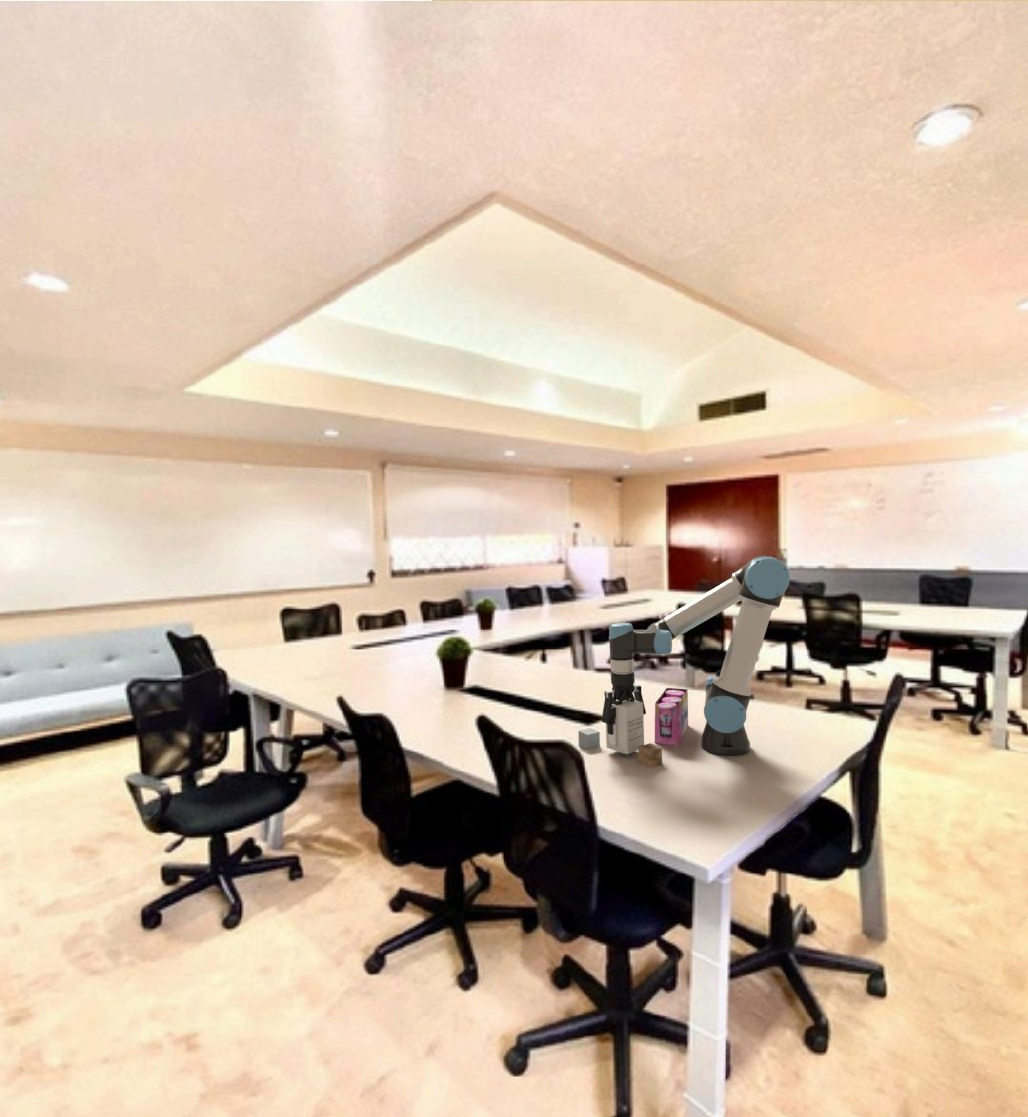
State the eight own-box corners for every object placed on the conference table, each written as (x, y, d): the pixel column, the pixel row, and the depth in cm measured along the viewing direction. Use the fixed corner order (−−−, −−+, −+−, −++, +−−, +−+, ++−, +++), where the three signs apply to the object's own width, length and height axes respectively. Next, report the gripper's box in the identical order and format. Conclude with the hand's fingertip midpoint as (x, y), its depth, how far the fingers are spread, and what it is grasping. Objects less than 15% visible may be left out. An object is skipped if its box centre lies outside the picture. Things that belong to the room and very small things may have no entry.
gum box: (677, 747, 197) (676, 706, 197) (653, 744, 201) (652, 704, 200) (688, 725, 219) (688, 689, 218) (666, 723, 222) (666, 687, 222)
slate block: (590, 742, 204) (590, 728, 204) (599, 746, 200) (599, 732, 200) (578, 745, 202) (578, 730, 201) (588, 749, 197) (587, 734, 197)
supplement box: (605, 748, 194) (603, 702, 193) (623, 741, 200) (621, 696, 199) (627, 755, 187) (625, 707, 186) (645, 747, 193) (643, 701, 192)
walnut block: (650, 759, 188) (650, 743, 188) (662, 763, 184) (661, 747, 184) (638, 762, 186) (638, 746, 185) (650, 767, 181) (649, 751, 181)
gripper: (639, 664, 201) (642, 730, 202) (587, 675, 190) (590, 744, 191) (655, 668, 195) (658, 736, 196) (603, 679, 184) (606, 751, 184)
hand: (625, 740), depth 193 cm, fingers closed on supplement box, 9 cm apart
